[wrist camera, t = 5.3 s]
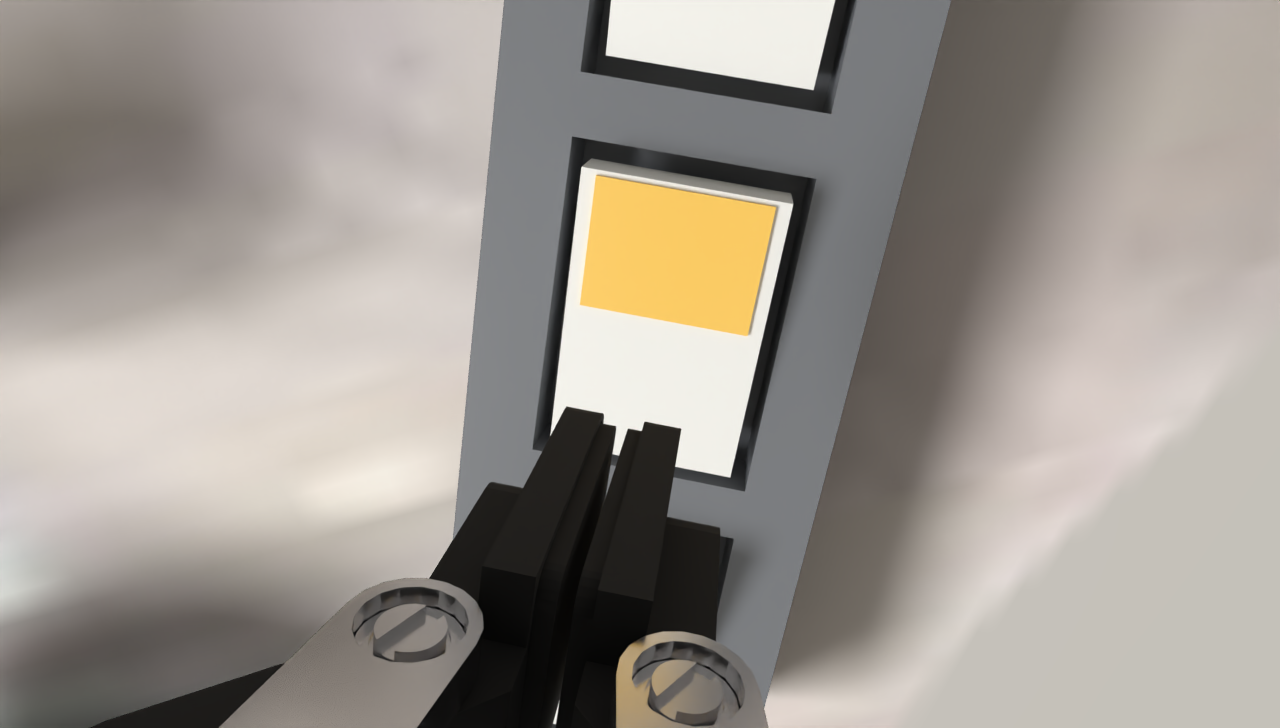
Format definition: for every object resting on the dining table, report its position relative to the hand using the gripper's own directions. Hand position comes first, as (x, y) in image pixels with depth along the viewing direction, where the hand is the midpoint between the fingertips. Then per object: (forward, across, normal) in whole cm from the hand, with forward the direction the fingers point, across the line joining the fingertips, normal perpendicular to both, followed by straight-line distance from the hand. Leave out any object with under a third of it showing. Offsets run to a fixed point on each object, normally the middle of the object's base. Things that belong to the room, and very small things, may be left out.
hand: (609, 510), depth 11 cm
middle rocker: (+6, 0, -1) cm, 6 cm away
